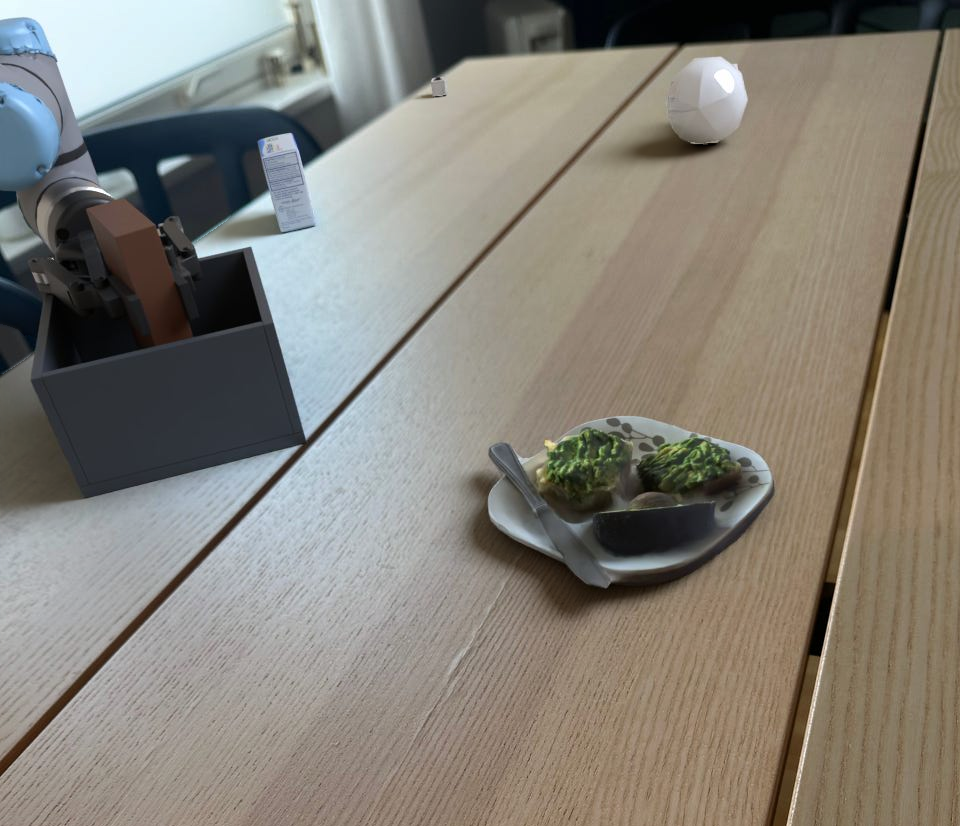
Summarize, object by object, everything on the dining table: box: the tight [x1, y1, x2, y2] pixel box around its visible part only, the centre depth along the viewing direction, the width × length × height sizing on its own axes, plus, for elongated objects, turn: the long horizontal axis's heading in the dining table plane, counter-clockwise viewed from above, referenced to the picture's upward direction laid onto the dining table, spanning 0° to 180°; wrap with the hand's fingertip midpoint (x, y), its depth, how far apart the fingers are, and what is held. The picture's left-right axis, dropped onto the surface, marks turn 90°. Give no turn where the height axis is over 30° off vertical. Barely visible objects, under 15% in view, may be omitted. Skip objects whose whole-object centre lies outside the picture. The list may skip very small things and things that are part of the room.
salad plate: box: [487, 415, 776, 589], centre depth 67 cm, size 19×18×5 cm
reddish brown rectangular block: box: [86, 197, 193, 350], centre depth 79 cm, size 3×9×12 cm, turn 30°
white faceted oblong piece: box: [665, 56, 749, 143], centre depth 123 cm, size 9×10×15 cm
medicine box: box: [257, 132, 317, 233], centre depth 119 cm, size 8×4×9 cm, turn 13°
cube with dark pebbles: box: [430, 76, 448, 97], centre depth 158 cm, size 2×2×2 cm
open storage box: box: [29, 246, 307, 499], centre depth 83 cm, size 18×18×10 cm
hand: (165, 309), depth 75 cm, fingers closed on reddish brown rectangular block, 3 cm apart
